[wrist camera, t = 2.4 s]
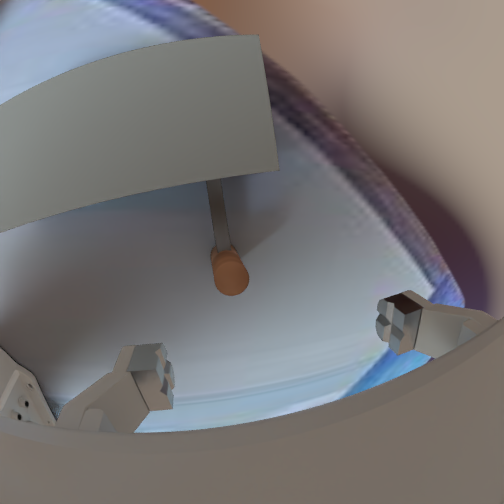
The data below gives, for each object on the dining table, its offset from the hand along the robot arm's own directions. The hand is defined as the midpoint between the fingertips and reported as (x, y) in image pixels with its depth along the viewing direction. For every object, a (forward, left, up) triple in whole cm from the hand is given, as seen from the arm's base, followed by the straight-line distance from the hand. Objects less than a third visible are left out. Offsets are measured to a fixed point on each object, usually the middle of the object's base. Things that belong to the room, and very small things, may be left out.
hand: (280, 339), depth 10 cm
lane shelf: (+11, +8, -19) cm, 23 cm away
